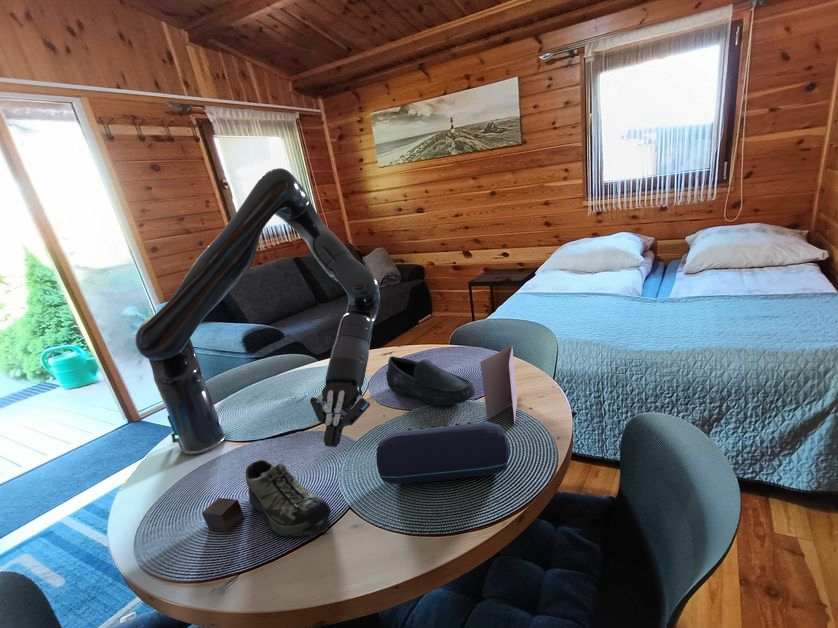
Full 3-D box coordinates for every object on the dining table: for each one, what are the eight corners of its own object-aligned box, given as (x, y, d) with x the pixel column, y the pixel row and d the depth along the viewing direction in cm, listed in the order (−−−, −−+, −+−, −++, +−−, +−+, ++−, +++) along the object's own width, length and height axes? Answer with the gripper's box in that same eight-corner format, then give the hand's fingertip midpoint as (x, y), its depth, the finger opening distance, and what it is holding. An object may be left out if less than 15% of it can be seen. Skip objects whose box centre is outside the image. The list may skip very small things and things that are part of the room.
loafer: (464, 414, 106) (459, 376, 102) (377, 396, 121) (369, 362, 117) (484, 395, 114) (480, 359, 110) (400, 380, 129) (394, 349, 125)
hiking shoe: (302, 551, 71) (288, 505, 67) (235, 509, 82) (219, 468, 79) (343, 517, 77) (331, 474, 74) (274, 483, 89) (261, 444, 85)
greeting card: (514, 399, 110) (509, 344, 104) (538, 406, 105) (534, 349, 99) (484, 419, 102) (477, 361, 97) (508, 428, 97) (502, 367, 92)
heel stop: (208, 530, 78) (201, 512, 77) (225, 514, 82) (218, 497, 80) (228, 532, 77) (221, 515, 75) (244, 516, 80) (237, 499, 79)
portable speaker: (508, 452, 89) (503, 410, 85) (513, 484, 80) (508, 438, 76) (388, 465, 90) (379, 423, 86) (379, 497, 81) (368, 452, 77)
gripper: (385, 368, 91) (370, 451, 84) (330, 368, 95) (312, 448, 88) (368, 355, 84) (350, 444, 78) (310, 355, 88) (289, 441, 82)
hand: (330, 446), depth 83 cm, fingers closed
